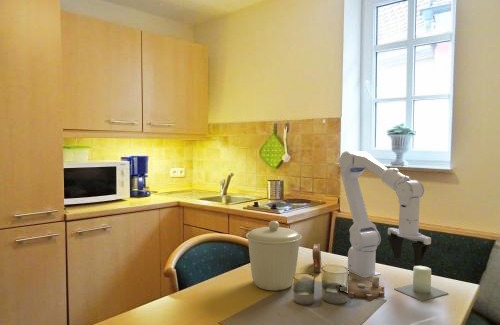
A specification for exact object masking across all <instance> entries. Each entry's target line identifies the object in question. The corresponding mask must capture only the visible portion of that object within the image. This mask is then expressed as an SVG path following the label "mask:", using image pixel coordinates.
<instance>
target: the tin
mask: <svg viewBox="0 0 500 325" xmlns="http://www.w3.org/2000/svg"><path fill="white" fill-rule="evenodd" d="M321 250H322V249H321V243H313V244H312V261H313V267H312V269H313V272H315V273H321V271H322V254H321V253H322V252H321Z"/></svg>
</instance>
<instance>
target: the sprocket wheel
mask: <svg viewBox="0 0 500 325" xmlns="http://www.w3.org/2000/svg"><path fill="white" fill-rule="evenodd" d="M347 281H348V280H347ZM347 295H348V297H349V298H353V299H355V298H359V299H366V300H367V301H372V300H373V299H375V298H379V297H381V298H383V297H385V286H383V285H380V277H379V275H376V276H371V280H363V279H357V278H351V279H349V281H348V294H347Z"/></svg>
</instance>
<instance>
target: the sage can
mask: <svg viewBox="0 0 500 325" xmlns="http://www.w3.org/2000/svg"><path fill="white" fill-rule="evenodd" d="M412 272H413V273H412V274H413V277H412V284H413V290H414V291H415V292H417V293H422V294H429V293H430V292H431V287H432V286H431V284H432V268H430V267H428V266H425V265H424V266H423V265H419V266H416V265H414V266H413V271H412Z"/></svg>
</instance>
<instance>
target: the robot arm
mask: <svg viewBox="0 0 500 325" xmlns="http://www.w3.org/2000/svg"><path fill="white" fill-rule="evenodd" d="M338 164H339V167H340V172H341V180H342V183H343V188H344V191H345V196H346V199H347V203H348V206H349V211H350V214H351V218H352V221H353V224H351V226H350V227H349V230H348V231H349V242H350V244H351V247H349V250H348V252H347V268H348V269H349V271H348V272H350V273H352V274H355V275H357V276H359V277H360V278H361V277H362V278H365V279H366V278H370V277H371V278H372V276H379V275H381V272H379V271H376V255H377V254H376V251H377V249H378V246H379V245H380V243H381V240H382V239H381V238H382V237H381V234H380V232H379V231H378V229H377V226H376V224H375V223H373V222H372V221H370V219H369V216H368V212H367V208H366V204H365V201H364V198H363V193H362V190H361V186H360V182H359V177H360V176H361V175H362V174H363V173H364V171H365V170H366V169H367V170H368V171H370V172H372V173H373V174H375V175H377V176H379V177H380V178H381V179H380V180H381V182H382V183H383V184H384V185H386V186H388V187H389V188H390V189H392V190H393V191H395V194H396V196H397V198H398V201H397V202H398V203H399V206H398V207H399V208H398V211H399V212H398V228H396V227H388V228H387V235H389V236H387V240H388V242H389V244H390V246H391V249H392V252H393V257H394V259H401V257H402V248H403V242H404V239H407V240H409V241H415V242H412V248H413V254H414V257H413V258H414V266H422V262H423V260H424V257H425V254H426V253H427V251H428V250H429V248H430V246H431V243H432V237H430V236H426V235H424V234H422V233H421V232H419V226H420V203H421V202H420V200H421V197H422V196H423V195H424V193H425V186H424V184H423V183H422V182H420V180H418V179H411V177H410V176H408V175H405V174H403V173H401V172H400V169H398V168H397V167H394V168H393V167H390V168H387V167H386V166H385V165H384V164H382V163H381V162H379V161H378V160H377V159H375V158H374V157H373V155H372V154H370V153H368V152H367V151H365V150H364V151H362V150H361V151H347V150H346V151H344V152H342V153H341V155H340V157H339V159H338Z"/></svg>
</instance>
